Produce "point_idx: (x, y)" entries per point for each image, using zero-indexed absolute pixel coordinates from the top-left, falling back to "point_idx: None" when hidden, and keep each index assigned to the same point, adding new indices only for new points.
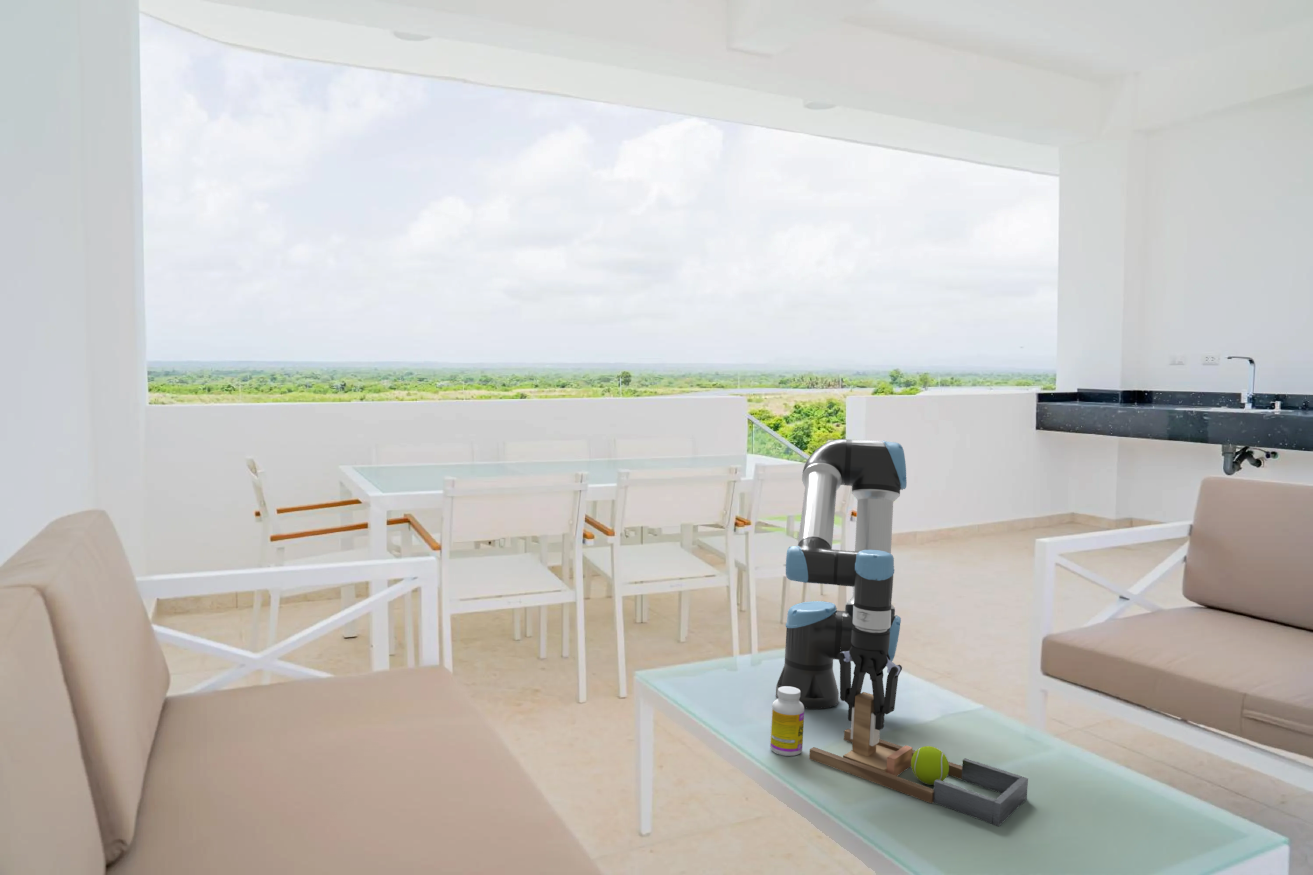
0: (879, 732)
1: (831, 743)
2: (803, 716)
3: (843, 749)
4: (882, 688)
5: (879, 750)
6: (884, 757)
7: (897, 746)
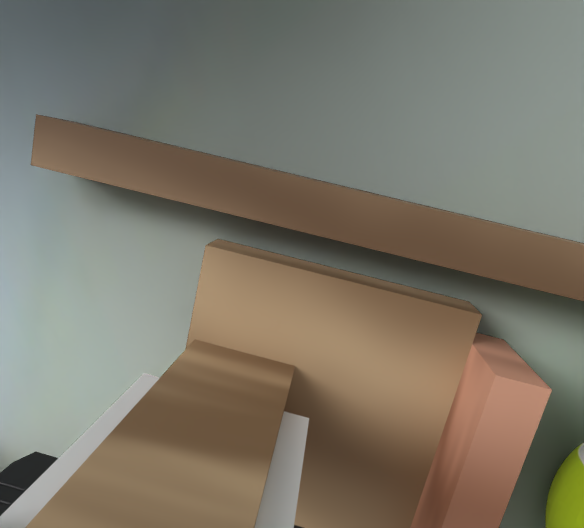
0: (302, 465)
1: (36, 259)
2: None
3: (115, 301)
4: None
5: (310, 340)
6: (360, 421)
7: (402, 230)
